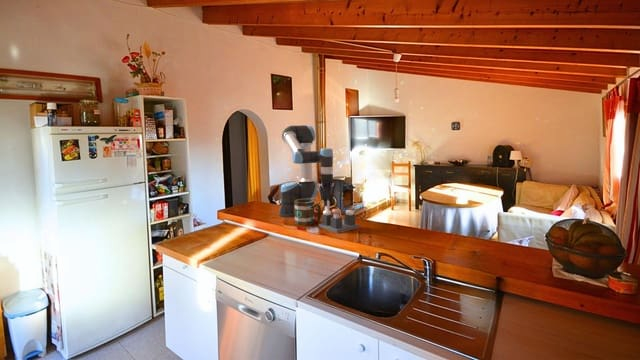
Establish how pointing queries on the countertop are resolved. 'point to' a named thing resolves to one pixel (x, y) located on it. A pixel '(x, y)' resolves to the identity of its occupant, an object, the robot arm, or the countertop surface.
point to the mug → (305, 212)
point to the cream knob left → (349, 212)
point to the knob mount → (338, 223)
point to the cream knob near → (327, 213)
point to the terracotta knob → (336, 212)
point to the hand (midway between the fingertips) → (327, 210)
